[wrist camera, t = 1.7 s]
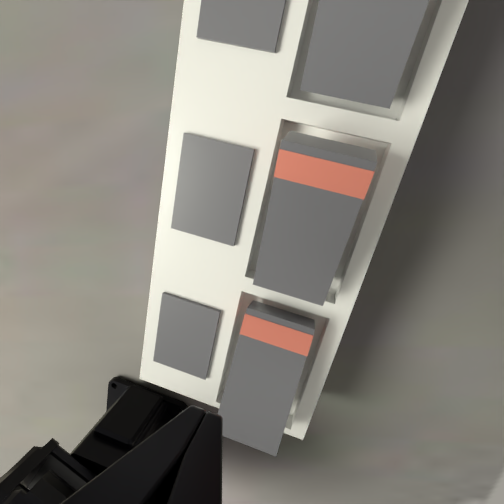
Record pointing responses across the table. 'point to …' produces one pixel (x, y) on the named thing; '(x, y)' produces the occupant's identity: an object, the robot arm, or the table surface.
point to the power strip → (263, 184)
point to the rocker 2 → (361, 48)
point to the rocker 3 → (311, 214)
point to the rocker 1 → (265, 375)
